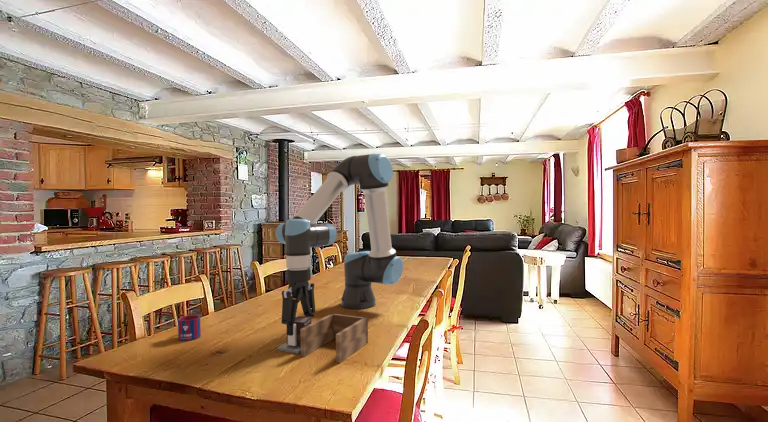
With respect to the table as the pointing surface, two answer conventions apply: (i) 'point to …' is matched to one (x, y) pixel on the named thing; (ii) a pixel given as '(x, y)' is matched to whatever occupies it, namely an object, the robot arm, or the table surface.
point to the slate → (290, 348)
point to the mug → (189, 327)
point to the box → (300, 326)
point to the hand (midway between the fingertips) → (299, 340)
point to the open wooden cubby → (335, 335)
